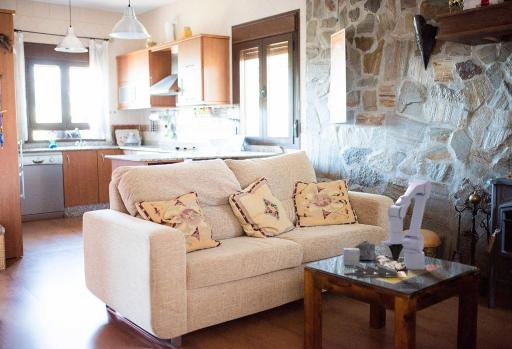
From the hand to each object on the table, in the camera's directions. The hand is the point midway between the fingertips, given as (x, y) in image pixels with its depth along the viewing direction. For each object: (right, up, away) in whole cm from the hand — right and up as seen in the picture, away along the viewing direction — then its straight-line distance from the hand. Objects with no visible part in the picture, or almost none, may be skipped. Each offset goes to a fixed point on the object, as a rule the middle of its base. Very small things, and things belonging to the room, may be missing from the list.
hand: (395, 260), depth 244 cm
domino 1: (-10, -6, +2) cm, 12 cm away
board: (-5, -8, +3) cm, 10 cm away
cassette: (+10, -5, +36) cm, 37 cm away
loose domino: (+1, -6, +1) cm, 6 cm away
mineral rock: (-8, -5, +33) cm, 34 cm away
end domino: (-14, -6, +2) cm, 16 cm away
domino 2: (-4, -6, +1) cm, 8 cm away
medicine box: (-17, -6, +20) cm, 27 cm away
